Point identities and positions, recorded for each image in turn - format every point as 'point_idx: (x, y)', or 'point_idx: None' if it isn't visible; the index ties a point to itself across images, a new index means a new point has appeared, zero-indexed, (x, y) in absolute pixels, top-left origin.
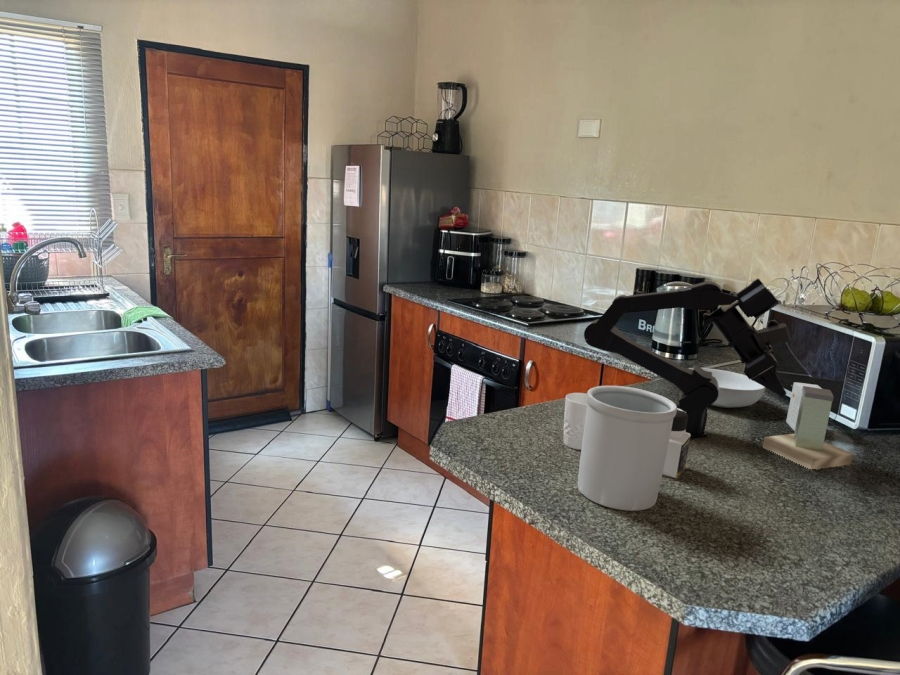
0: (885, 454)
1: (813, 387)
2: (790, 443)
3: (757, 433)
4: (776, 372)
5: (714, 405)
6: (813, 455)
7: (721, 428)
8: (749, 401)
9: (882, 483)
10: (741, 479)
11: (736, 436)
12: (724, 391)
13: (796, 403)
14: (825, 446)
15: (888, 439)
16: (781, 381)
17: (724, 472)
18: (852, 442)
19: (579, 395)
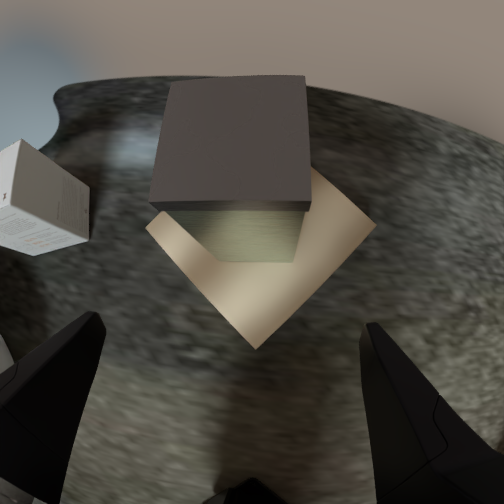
0: (151, 84)
1: (157, 148)
2: (273, 274)
3: (140, 344)
4: (55, 360)
5: None
6: (346, 220)
7: (158, 436)
8: (1, 341)
9: (343, 104)
10: (498, 383)
11: (202, 407)
12: None
13: (20, 231)
14: None
15: (72, 87)
16: (91, 320)
17: (480, 418)
18: (104, 131)
19: None
